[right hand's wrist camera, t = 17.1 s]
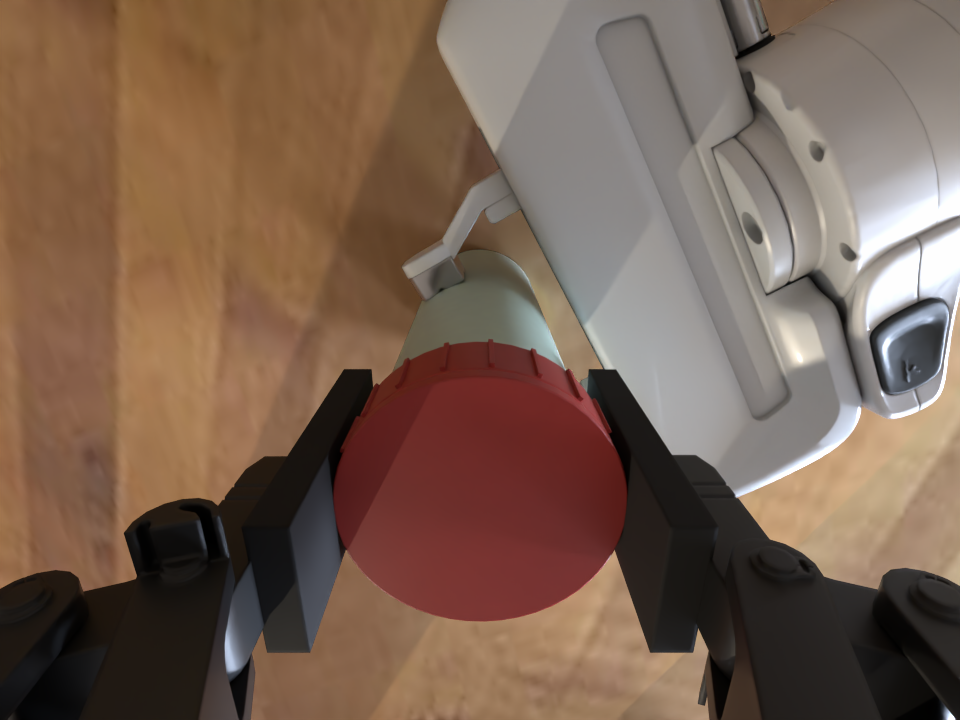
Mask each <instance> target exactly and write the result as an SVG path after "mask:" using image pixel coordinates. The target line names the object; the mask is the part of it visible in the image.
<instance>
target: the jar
mask: <svg viewBox="0 0 960 720" xmlns="http://www.w3.org/2000/svg"><path fill="white" fill-rule="evenodd" d="M457 256H458V257H459V259H460V261H461V263H462V265H463V266H464V268H465V274H464V276H465V277H464V280H463V281H461V282H459V283H458V284H456V285H454V286H452V287H450V288H447V289H445V288H440V290H439V292H438V294H437V295H435V296H434V297H433V298H431V299H429V300H426V301H423V300H422V302H421V304H420V306H419V309H418V311H417V314H416V316H415V319H414V321H413V323H412V326H411V328H410V331H409V333H408V336H407V338H406V340H405V343H404V345H403V348H402V350H401V352H400V355H399V357H398V360H397V362H396V365H395V367H394V369H393V372H394V371H395V370H396V369H397V368H399V367H400V366H402V365H403V362H404V360H405V359H406V358H409V359H410V360H411V359H413V358H415V357H417V356H419V355H421V354H423V353H425V352H428V351H431V350H434V349H437V348H439V347H443V346H444V343H447V342H449V344H450V345H452V344H457V343H467V342H488V339H493V342H496V343H502V344H508V345H513V346H517V347H520V348H524V349H527V350H531V348H533V349H536V352H537V354H539V355H542V356H544V357H546V358H547V359H549V360H551V361H552V362H554V363H556V364H557V365H559V366H560V367H562V368H563V369H564V370H565V367H564V365H563V362H562V360H561V357H560V355H559V353H558V350H557V348H556V345H555V343H554V340H553V338H552V335H551V333H550V331H549V328H548V326H547V323H546V321H545V318H544V316H543V313H542V311H541V308H540V306H539V304H538V301H537V299H536V296H535V294H534V291H533V289H532V286H531V284H530V282H529V279H528V278H527V276H526V274H525V273H524V271H523V270H522V269H521V268H520V266H518V265H517V264H516V263H515V262H514V261H513V260H511V259H510V258H508V257H506V256H505V255H503V254H500V253H498V252H494V251H490V250H470V251H465V252H462V253H459V254H457ZM565 371H566V370H565Z"/></svg>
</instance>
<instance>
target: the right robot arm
mask: <svg viewBox="0 0 960 720" xmlns="http://www.w3.org/2000/svg"><path fill="white" fill-rule="evenodd" d="M372 389H373V382H372V369H344V370H343V372H342V373H341V375H340V376H339V378H338V379H337V381H336V383H335V384H334V386H333V387H332V389H331V390H330V392H329V393H328V395H327V396H326V398H325V399H324V401H323V402H322V404H321V406H320V407H319V409H318V410H317V412H316V413H315V415H314V416H313V418H312V419H311V421H310V422H309V424H308V425H307V427H306V429H305V430H304V432H303V433H302V435H301V436H300V438H299V439H298V441H297V442H296V444H295V445H294V447H293V448H292V450H291V452H290V453H289V455H288V456H265V457H263V458H262V459H260V460H259V461H257V462H256V463H255V464H253V465H252V466H250V467H249V468H247V469H246V470H245V471H244V472H243V474H242V475H241V476H240V478H239V479H238V480H237V482H236V483H235V484H234V485H235V486H234V487H232V488H231V490H230V491H229V492H228V494H227V495H226V496H225V500H222V501H221V503H220V504H219V505H218V506H217V505H216V504H215V503H214V502H212V501H210V500H205V499H200V498H193V499H181V500H177V501H174V502H170V503H166V504H163V505H161V506H159V507H156V508H154V509H152V510H150V511H148V512H146V513H145V514H143V515H142V516H140V517H139V518H138V519H136V520H135V521H133V522H132V523H131V525H130V526H129V527H128V529H127V530H126V531H125V532H124V535H125V539H126V542H127V545H128V548H129V552H130V555H131V558H132V561H133V564H134V568H135V571H136V574H137V578H136V579H135V580H131V581H128V582H124V583H120V584H115V585H111V586H106V587H102V588H98V589H93V590H89V591H84V592H83V589H82V587H81V584H80V581H79V578H78V577H76V576H75V575H74V574H72V573H71V572H68V571H58V570H54V571H48V572H42V573H36V574H33V575H30V576H27V577H25V578H21V579H19V580H16V581H14V582H12V583H10V584H8V585H7V586H5V587H3V588H1V589H0V720H251V711H252V701H253V691H254V681H255V668H254V661H253V657H252V651H253V649H254V647H255V645H256V642H257V640H258V638H259V636H260V634H261V632H262V630H263V635H264V639H265V644H266V649H267V653H310V651H311V648H312V646H313V643H314V640H315V637H316V634H317V631H318V628H319V625H320V622H321V619H322V617H323V614H324V611H325V608H326V605H327V602H328V599H329V596H330V593H331V591H332V588H333V585H334V582H335V579H336V576H337V573H338V570H339V567H340V565H341V562H342V559H343V556H344V553H345V550H346V548H345V547H344V545H343V542H342V540H341V537H340V535H339V533H338V530H337V525H336V519H335V511H334V503H333V485H334V479H335V475H336V471H337V466H338V464H339V461H340V459H341V457H342V454H343V453H341V452H340V450H341V447H342V445H343V443H344V441H345V439H346V437H347V435H348V433H349V431H350V429H351V427H352V424H353V422H354V420H355V418H356V416H359V417H360V415H361V413H362V411H363V408H364V406H365V404H366V402H367V400H368V398H369V396H370V394H371V391H372ZM587 393H588V395H589V396H590V398H591V399H594V398H595V399H596V400H597V402H598V404H599V406H600V408H601V411H602V413H603V415H604V417H605V419H606V421H607V423H608V425H609V427H610V429H611V431H612V432H611V433H609V436H610V438H611V440H612V442H613V444H614V446H615V449H616V451H617V453H618V455H619V457H620V459H621V462H622V464H623V466H624V467H623V469H624V472H625V475H626V482H627V489H628V497H627V506H626V514H625V522H624V528H623V531H622V534H621V537H620V539H619V541H618V543H617V545H616V547H615V552H616V555H617V558H618V561H619V564H620V567H621V569H622V572H623V575H624V578H625V581H626V584H627V587H628V590H629V593H630V595H631V598H632V601H633V604H634V607H635V610H636V613H637V616H638V619H639V621H640V624H641V627H642V630H643V633H644V636H645V639H646V642H647V645H648V648H649V650H650V653H693V651H694V646H695V641H696V636H697V631H698V628H699V631H700V633H701V635H702V637H703V639H704V641H705V643H706V646H707V648H708V650H709V652H708V657H707V661H706V666H705V670H704V675H703V679H702V684H701V688H700V693H699V700H698V704H700V705H704V706H705V703H706V698H707V699H708V709H709V719H710V720H955V719H956V720H960V586H959V585H957V584H955V583H953V582H951V581H950V580H948V579H945V578H943V577H940V576H938V575H935V574H932V573H928V572H926V571H920V570H914V569H908V568H902V569H893V570H890V571H889V572H887V573H886V574H885V575H883V577H882V580H881V582H880V585H879V588H878V590H877V589H872V588H868V587H863V586H859V585H855V584H850V583H846V582H841V581H837V580H833V579H830V578H826V577H823V575H822V573H821V572H820V570H819V569H818V567H817V566H816V564H815V563H814V562H812V561H811V560H810V559H809V558H807V557H806V556H805V555H804V554H803V553H801V552H799V551H797V550H795V549H794V548H792V547H790V546H788V545H786V544H783V543H780V542H776V541H773V540H770V539H769V538H768V537H767V535H766V534H765V533H764V531H763V530H762V529H761V527H760V526H759V525H758V524H757V522H756V521H755V520H754V518H753V517H752V516H751V514H750V513H749V512H748V511H747V509H746V508H745V507H744V505H743V504H742V503H741V501H740V500H739V499H738V498H736V495H735V494H734V492H733V491H732V490H731V488H730V487H729V486H727V485H726V482H725V480H724V479H723V478H722V477H721V475H720V474H719V473H718V471H717V470H716V469H715V468H714V467H713V466H711V465H710V464H708V463H707V462H706V461H704V460H703V459H701V458H700V457H698V456H697V455H672V454H671V453H670V451H669V449H668V448H667V446H666V445H665V443H664V442H663V440H662V439H661V437H660V436H659V434H658V433H657V431H656V430H655V428H654V426H653V425H652V423H651V422H650V420H649V419H648V417H647V416H646V414H645V413H644V411H643V410H642V408H641V407H640V405H639V404H638V402H637V400H636V399H635V397H634V396H633V394H632V393H631V391H630V390H629V388H628V387H627V385H626V384H625V382H624V381H623V379H622V377H621V376H620V374H619V373H618V371H617V370H616V369H589V373H588V385H587Z"/></svg>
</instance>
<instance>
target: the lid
mask: <svg viewBox="0 0 960 720" xmlns="http://www.w3.org/2000/svg"><path fill="white" fill-rule="evenodd" d="M611 432H612V431H611V429H610V427H609V425H608V423H607V421H606V419H605V417H604V415H603V413H602V411H601V408H600V406H599V404H598V402H597V400H596V399H595V398H594V399H591V398H590V396H589V395H588V393H587V392H586V391H585V389H584V388H583V387H582V386H581V385H580V384H579V383H578V381H577V380H576V379H575V377H574V375H573V373H572V371H571V370H570V369H568V370H567V371H565V370H564V369H563V368H562V367H560V366H559V365H557V364H556V363H554V362H552V361H551V360H549V359H547V358H546V357H544V356H542V355H539V354H537V352H536V349H533V348H531V350H527V349H524V348H520V347H517V346H513V345H508V344H502V343H496V342H493V339H488V342H467V343H457V344H452V345H450V344H449V342H447V343H444V346H443V347H439V348H437V349H434V350H431V351H428V352H425V353H423V354H421V355H419V356H417V357H415V358H413V359H411V360H410V359H409V358H406V359H405V360H404V362H403V365H402V366H400V367H399V368H397V369H396V370H395V371H394V372H392V373H391V374H390V375H389V376H388V377H387V378H386V379H385V380H384V381H383V382H382V383H381V384H380V385H378V384H377V383H376V384H375V386H374V387H373V389H372V391H371V394H370V396H369V398H368V400H367V402H366V404H365V406H364V408H363V411H362V413H361V415H360V417H359V416H356V418H355V420H354V422H353V424H352V427H351V429H350V431H349V433H348V435H347V437H346V439H345V441H344V443H343V445H342V447H341V450H340V452H341V453H343V454H342V457H341V459H340V461H339V464H338V466H337V471H336V475H335V479H334V485H333V503H334V511H335V519H336V525H337V530H338V533H339V535H340V537H341V540H342V542H343V545H344V547H345V548H346V550H347V552H348V554H349V555H350V557H351V559H352V560H353V561H354V563H355V564H356V565H357V566H358V568H359V569H360V570H361V572H362V573H363V574H364V575H365V576H366V577H367V578H368V579H369V580H370V581H371V582H372V583H374V584H375V585H376V586H377V587H379V588H380V589H381V590H383V591H384V592H385V593H386V594H388V595H390V596H391V597H393V598H395V599H396V600H398V601H400V602H401V603H404V604H406V605H408V606H410V607H412V608H415V609H417V610H420V611H423V612H426V613H429V614H432V615H435V616H440V617H444V618H448V619H455V620H464V621H497V620H505V619H511V618H517V617H521V616H525V615H528V614H532V613H536V612H538V611H541V610H543V609H546V608H548V607H551V606H553V605H555V604H557V603H559V602H560V601H562V600H564V599H566V598H568V597H569V596H571V595H572V594H574V593H575V592H577V591H578V590H580V589H581V588H582V587H583V586H584V585H585V584H587V583H588V582H589V581H590V580H591V579H592V578H593V577H594V576H595V575H596V574H597V573H598V572H599V571H600V570H601V569H602V567H603V566H604V565H605V563H606V562H607V561H608V559H609V558H610V556H611V555H612V553H613V551H614V549H615V547H616V545H617V543H618V541H619V539H620V537H621V534H622V531H623V528H624V522H625V514H626V506H627V497H628V489H627V482H626V475H625V472H624V469H623V467H624V466H623V464H622V462H621V459H620V457H619V455H618V453H617V451H616V449H615V446H614V444H613V442H612V440H611V438H610V436H609V433H611Z"/></svg>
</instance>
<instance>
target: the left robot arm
mask: <svg viewBox="0 0 960 720" xmlns="http://www.w3.org/2000/svg"><path fill="white" fill-rule="evenodd" d="M437 45H438V49H439V52H440V54H441V56H442V59H443V61H444V63H445V64H446V66H447V68H448V70H449V72H450V74H451V76H452V78H453V80H454V82H455V84H456V86H457V88H458V90H459V92H460V93H461V95H462V97H463V99H464V101H465V103H466V105H467V107H468V109H469V111H470V113H471V115H472V117H473V119H474V120H475V122H476V124H477V126H478V128H479V130H480V132H481V134H482V136H483V138H484V140H485V142H486V144H487V146H488V147H489V149H490V151H491V153H492V155H493V157H494V159H495V161H496V163H497V165H498V167H499V169H498V170H496V171H495V172H493V173H492V174H490V175H488V176H487V177H485V178H483V179H482V180H480V181H478V182H477V183H475V184H473V185H472V186H471V187H470V189H469V191H468V193H467V194H466V196H465V198H464V200H463V202H462V203H461V205H460V207H459V209H458V211H457V212H456V214H455V216H454V218H453V220H452V221H451V223H450V225H449V227H448V229H447V230H446V232H445V234H444V236H443V238H442V239H441V240H439V241H437V242H436V243H434V244H432V245H431V246H429V247H427V248H425V249H424V250H422V251H420V252H419V253H417V254H415V255H414V256H412V257H411V258H410V259H408V260H407V261H405V263H404V264H403V265H402V269H403V271H404V272H405V274H406V276H407V278H408V279H409V280H410V282H411V283H412V285H413V286H414V288H415V289H416V291H417V293H418V294H419V296H420V297H421V299H422V300H423V301H426V300H429V299H431V298H433V297H434V296H435V295H437V294H438V292H439V290H440V288H445V289H447V288H450V287H452V286H454V285H456V284H458V283H459V282H461V281H463V280H464V277H465V276H464V274H465V268H464V266H463V265H462V263H461V261H460V259H459V257H458V256H457V253H458V251H459V250H460V248H461V246H462V244H463V243H464V241H465V239H466V237H467V236H468V234H469V232H470V230H471V229H472V227H473V225H474V223H475V222H476V220H477V218H478V217H479V215H480V213H481V211H482V210H485V215H486V216H487V218H488V220H489V222H490V223H493V224H495V223H497V222H499V221H500V220H502V219H504V218H506V217H508V216H509V215H511V214H513V213H515V212H517V211H518V210H520V209H521V211H522V213H523V215H524V217H525V219H526V221H527V223H528V225H529V227H530V229H531V230H532V232H533V234H534V236H535V238H536V240H537V242H538V244H539V246H540V248H541V250H542V252H543V254H544V256H545V257H546V259H547V261H548V263H549V265H550V267H551V269H552V271H553V273H554V275H555V277H556V279H557V281H558V283H559V284H560V286H561V288H562V290H563V292H564V294H565V296H566V298H567V300H568V302H569V304H570V306H571V308H572V310H573V311H574V313H575V315H576V317H577V319H578V321H579V323H580V325H581V327H582V329H583V331H584V333H585V335H586V337H587V338H588V340H589V342H590V344H591V346H592V348H593V350H594V352H595V354H596V356H597V358H598V360H599V362H600V364H601V365H602V367H603V369H616V370H617V371H618V373H619V374H620V376H621V377H622V379H623V381H624V382H625V384H626V385H627V387H628V388H629V390H630V391H631V393H632V394H633V396H634V397H635V399H636V400H637V402H638V404H639V405H640V407H641V408H642V410H643V411H644V413H645V414H646V416H647V417H648V419H649V420H650V422H651V423H652V425H653V426H654V428H655V430H656V431H657V433H658V434H659V436H660V437H661V439H662V440H663V442H664V443H665V445H666V446H667V448H668V449H669V451H670V453H671V454H672V455H697V456H698V457H700V458H701V459H703V460H704V461H706V462H707V463H708V464H710V465H711V466H713V467H714V468H715V469H716V470H717V471H718V473H719V474H720V475H721V477H722V478H723V479H724V480H725V482H726V485H727V486H729V487H730V488H731V490H732V491H733V492H734V494H735V495H736V497H739V496H741V495H744V494H746V493H749V492H751V491H753V490H756V489H758V488H760V487H762V486H765V485H767V484H769V483H771V482H773V481H775V480H778V479H780V478H782V477H784V476H786V475H788V474H790V473H792V472H794V471H796V470H798V469H800V468H802V467H804V466H806V465H808V464H810V463H812V462H814V461H815V460H817V459H819V458H821V457H823V456H824V455H826V454H827V453H829V452H830V451H832V450H833V449H835V448H836V447H837V446H838V445H840V444H841V443H842V442H843V441H844V440H845V439H846V438H847V437H848V436H849V435H850V434H851V432H852V431H853V429H854V428H855V426H856V424H857V422H858V420H859V417H860V413H861V406H862V407H864V408H866V409H868V410H870V411H872V412H874V413H876V414H878V415H880V416H882V417H884V418H887V419H896V418H901V417H904V416H907V415H910V414H912V413H915V412H917V411H920V410H922V409H924V408H925V407H927V406H929V405H930V404H932V403H933V402H934V401H935V400H936V399H937V398H938V397H939V395H940V394H941V392H942V389H943V386H944V382H945V377H946V371H947V363H948V355H949V348H950V342H951V335H952V330H953V324H954V319H955V314H956V309H957V305H958V300H959V296H960V0H835V1H834V2H832V3H830V4H829V5H827V6H825V7H824V8H822V9H820V10H818V11H817V12H815V13H813V14H812V15H810V16H808V17H807V18H805V19H803V20H802V21H800V22H798V23H796V24H795V25H793V26H791V27H790V28H788V29H786V30H785V31H782V32H781V33H779V34H777V35H774V36H771V33H770V31H769V27H768V24H767V21H766V18H765V15H764V12H763V8H762V5H761V2H760V0H448V1H447V3H446V5H445V8H444V11H443V14H442V18H441V21H440V24H439V28H438V32H437ZM580 385H581V386H582V387H583V388H584V389H585V391H586V392H587V385H588V377H587V378H585V379H583V380H581V382H580Z"/></svg>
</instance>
